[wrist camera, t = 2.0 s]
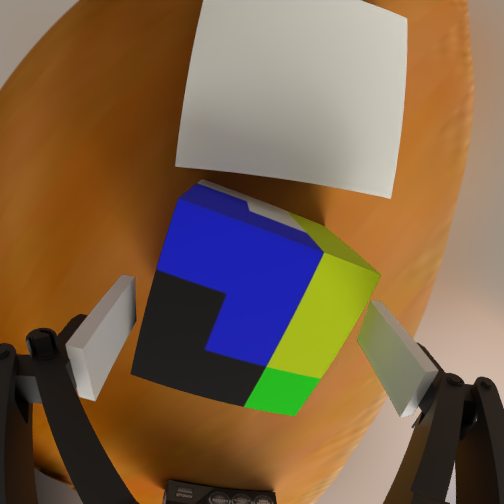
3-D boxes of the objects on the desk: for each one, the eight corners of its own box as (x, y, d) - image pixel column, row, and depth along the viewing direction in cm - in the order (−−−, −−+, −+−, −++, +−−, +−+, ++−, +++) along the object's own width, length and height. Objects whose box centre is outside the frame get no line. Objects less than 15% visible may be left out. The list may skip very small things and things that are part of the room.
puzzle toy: (202, 178, 22) (178, 198, 12) (324, 226, 23) (381, 275, 14) (163, 295, 24) (130, 374, 15) (274, 331, 26) (294, 416, 17)
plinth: (185, 164, 21) (175, 166, 17) (213, -3, 17) (210, -28, 13) (366, 190, 22) (390, 198, 19) (383, 33, 18) (407, 18, 14)
